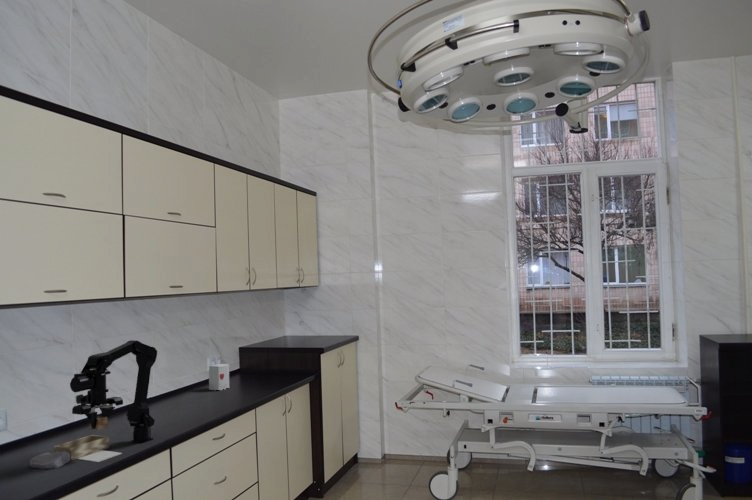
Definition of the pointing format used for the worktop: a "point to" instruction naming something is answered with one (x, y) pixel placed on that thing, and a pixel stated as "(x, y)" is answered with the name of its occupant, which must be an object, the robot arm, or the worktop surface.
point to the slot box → (84, 446)
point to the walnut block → (100, 423)
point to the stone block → (50, 460)
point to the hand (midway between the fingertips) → (98, 427)
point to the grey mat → (99, 456)
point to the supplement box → (218, 376)
